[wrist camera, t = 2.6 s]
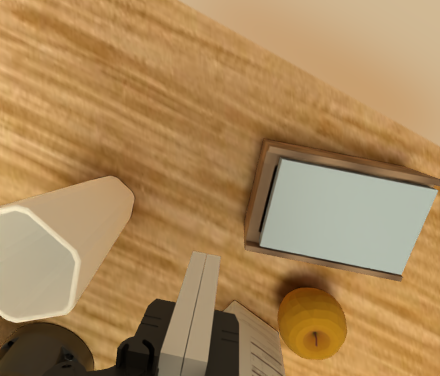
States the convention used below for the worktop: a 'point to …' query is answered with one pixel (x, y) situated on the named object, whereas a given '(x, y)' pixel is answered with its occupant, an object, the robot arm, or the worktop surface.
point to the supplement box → (257, 344)
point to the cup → (57, 246)
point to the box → (277, 149)
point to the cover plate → (344, 215)
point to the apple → (312, 323)
